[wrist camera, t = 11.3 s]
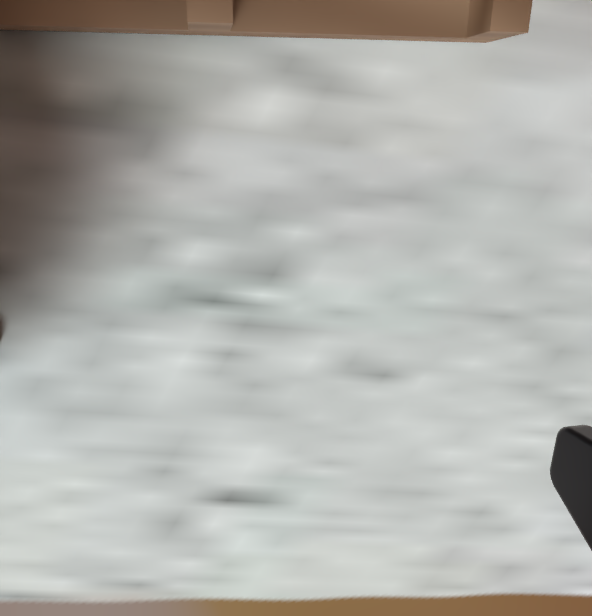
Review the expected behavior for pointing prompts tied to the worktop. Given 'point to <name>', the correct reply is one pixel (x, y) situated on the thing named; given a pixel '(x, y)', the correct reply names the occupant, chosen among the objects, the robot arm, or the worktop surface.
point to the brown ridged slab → (278, 18)
